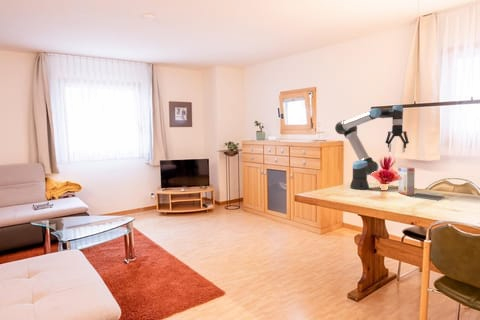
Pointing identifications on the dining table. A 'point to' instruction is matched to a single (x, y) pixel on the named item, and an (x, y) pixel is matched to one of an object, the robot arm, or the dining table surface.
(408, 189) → the cracker box
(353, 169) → the robot arm
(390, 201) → the dining table surface
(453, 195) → the dining table surface
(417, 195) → the felt mat
